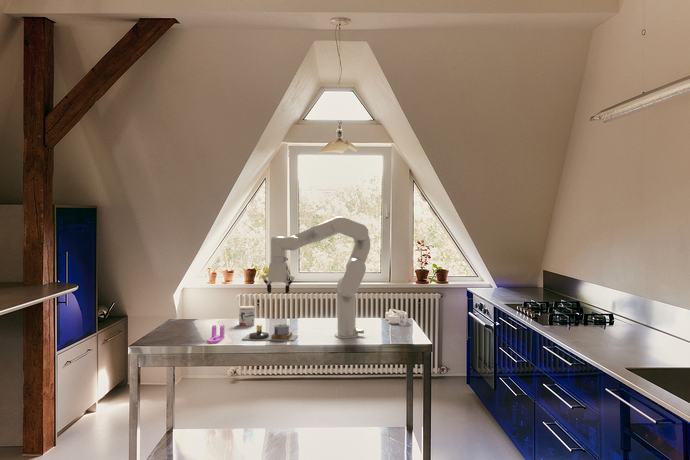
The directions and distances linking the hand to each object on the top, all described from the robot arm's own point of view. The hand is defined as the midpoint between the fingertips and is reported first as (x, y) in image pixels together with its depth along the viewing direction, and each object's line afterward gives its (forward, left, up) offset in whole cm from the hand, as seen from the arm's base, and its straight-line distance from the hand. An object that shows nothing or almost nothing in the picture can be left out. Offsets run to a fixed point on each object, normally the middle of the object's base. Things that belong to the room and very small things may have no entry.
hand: (278, 292), depth 245 cm
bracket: (+30, +8, -24) cm, 39 cm away
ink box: (+25, -28, -24) cm, 45 cm away
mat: (+4, +1, -23) cm, 24 cm away
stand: (-2, +2, -23) cm, 23 cm away
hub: (+10, +2, -23) cm, 25 cm away
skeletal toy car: (-63, -46, -24) cm, 81 cm away
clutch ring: (-2, +2, -21) cm, 21 cm away
